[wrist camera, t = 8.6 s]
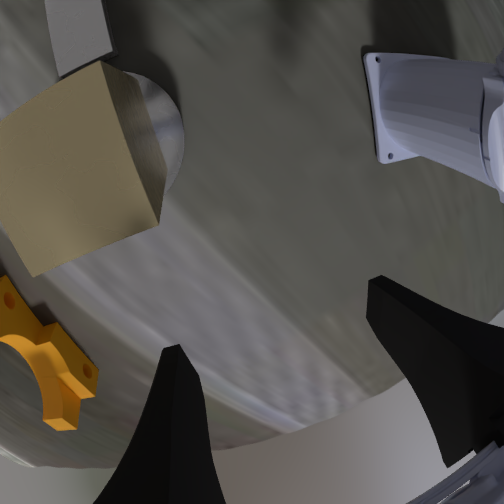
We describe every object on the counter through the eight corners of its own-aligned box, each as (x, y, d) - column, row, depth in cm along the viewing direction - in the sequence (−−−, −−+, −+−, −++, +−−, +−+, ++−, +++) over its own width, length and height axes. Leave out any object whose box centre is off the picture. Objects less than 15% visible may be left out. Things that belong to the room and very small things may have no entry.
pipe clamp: (99, 368, 22) (92, 427, 17) (67, 376, 22) (57, 430, 17) (19, 266, 16) (-17, 324, 11) (-10, 282, 16) (-44, 336, 10)
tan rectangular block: (138, 79, 11) (99, 60, 5) (167, 169, 14) (158, 224, 8) (51, 121, 11) (-29, 146, 5) (84, 204, 13) (32, 277, 8)
